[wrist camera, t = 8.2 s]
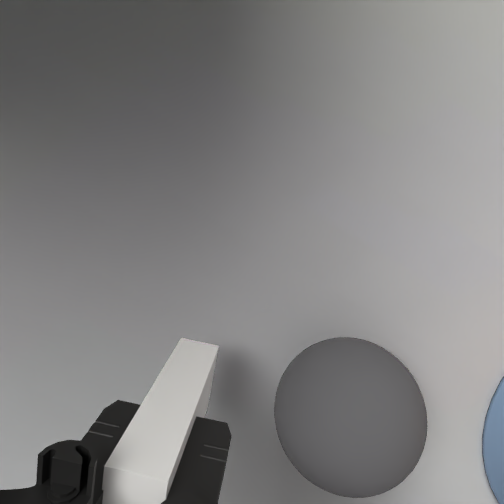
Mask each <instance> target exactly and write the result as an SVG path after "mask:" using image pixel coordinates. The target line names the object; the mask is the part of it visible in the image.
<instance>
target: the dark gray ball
mask: <svg viewBox="0 0 504 504" xmlns="http://www.w3.org/2000/svg"><path fill="white" fill-rule="evenodd" d="M274 416H275V423H276V430H277V433H278V437H279V440H280V442H281V445H282V447H283V449H284V451H285V453H286V455H287V457H288V458H289V460H290V461H291V462H292V464H293V465H294V466H295V468H296V469H297V470H298V471H299V472H300V473H301V474H302V475H303V476H304V477H305V478H306V479H307V480H309V481H310V482H312V483H313V484H315V485H316V486H318V487H320V488H321V489H323V490H325V491H328V492H330V493H333V494H336V495H340V496H344V497H352V498H363V497H371V496H375V495H379V494H382V493H384V492H386V491H388V490H390V489H392V488H394V487H395V486H397V485H398V484H400V483H401V482H402V481H403V480H404V479H405V478H406V477H407V476H408V475H409V474H410V473H411V472H412V471H413V469H414V468H415V466H416V464H417V463H418V461H419V459H420V456H421V454H422V452H423V449H424V445H425V441H426V436H427V414H426V408H425V403H424V400H423V397H422V394H421V391H420V389H419V387H418V385H417V383H416V381H415V379H414V378H413V376H412V375H411V373H410V372H409V371H408V369H407V368H406V367H405V366H404V365H403V364H402V363H401V362H400V361H399V360H398V359H397V358H396V357H395V356H393V355H392V354H391V353H390V352H388V351H387V350H385V349H383V348H382V347H380V346H378V345H376V344H374V343H371V342H368V341H365V340H361V339H356V338H333V339H328V340H324V341H321V342H319V343H316V344H314V345H312V346H310V347H308V348H307V349H305V350H304V351H303V352H301V353H300V354H299V355H298V356H297V357H296V358H295V359H294V360H293V361H292V362H291V363H290V365H289V366H288V367H287V369H286V371H285V372H284V374H283V376H282V378H281V380H280V383H279V386H278V389H277V392H276V398H275V407H274Z"/></svg>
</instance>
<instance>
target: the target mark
mask: <svg viewBox="0 0 504 504" xmlns="http://www.w3.org/2000/svg"><path fill="white" fill-rule="evenodd" d="M483 459H484V466H485V471H486V474H487V478H488V481H489V484H490V487H491V489H492V491H493V493H494V495H495V497H496V498H497V500H498V502H499V504H504V377H503V379H502V380H501V382H500V384H499V386H498V388H497V390H496V392H495V394H494V396H493V398H492V400H491V403H490V406H489V409H488V412H487V415H486V419H485V425H484V431H483Z"/></svg>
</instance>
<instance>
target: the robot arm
mask: <svg viewBox="0 0 504 504" xmlns="http://www.w3.org/2000/svg"><path fill="white" fill-rule="evenodd" d="M218 349H219V346H218V345H213V344H208V343H204V342H199V341H194V340H190V339H185V338H181V339H180V340H179V342H178V344H177V345H176V347H175V349H174V350H173V352H172V354H171V355H170V357H169V359H168V360H167V362H166V364H165V365H164V367H163V369H162V370H161V372H160V374H159V375H158V377H157V379H156V380H155V382H154V384H153V385H152V387H151V389H150V390H149V392H148V394H147V395H146V397H145V399H144V400H143V402H142V404H141V405H138V404H134V403H129V402H125V401H120V400H117V401H116V402H114V403H113V404H111V405H110V406H108V407H106V408H105V409H104V410H103V411H102V413H101V414H100V415H99V417H98V418H97V420H96V422H95V423H94V424H93V425H92V426H91V428H90V429H89V432H88V433H86V435H85V436H84V437H83V439H82V440H81V441H76V440H67V441H61V442H57V443H55V444H53V445H50V446H48V447H46V448H45V449H44V450H43V451H42V452H40V453H39V454H38V464H37V482H36V485H35V486H33V487H30V488H23V489H12V490H0V504H218V499H219V495H220V490H221V485H222V481H223V476H224V471H225V466H226V461H227V456H228V451H229V446H230V441H231V433H230V430H229V427H228V424H227V423H224V422H219V421H215V420H211V419H206V418H205V415H206V412H207V409H208V406H209V400H210V394H211V389H212V383H213V377H214V372H215V366H216V361H217V355H218Z"/></svg>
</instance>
